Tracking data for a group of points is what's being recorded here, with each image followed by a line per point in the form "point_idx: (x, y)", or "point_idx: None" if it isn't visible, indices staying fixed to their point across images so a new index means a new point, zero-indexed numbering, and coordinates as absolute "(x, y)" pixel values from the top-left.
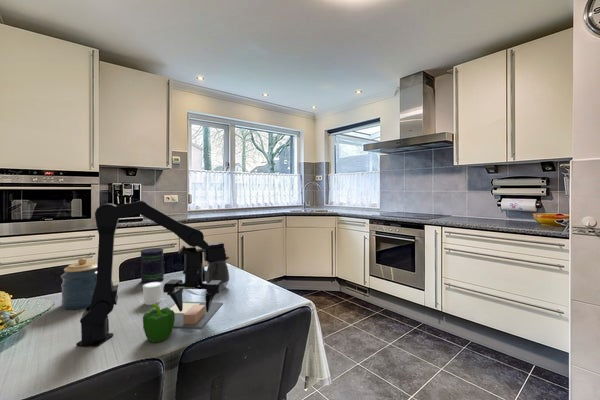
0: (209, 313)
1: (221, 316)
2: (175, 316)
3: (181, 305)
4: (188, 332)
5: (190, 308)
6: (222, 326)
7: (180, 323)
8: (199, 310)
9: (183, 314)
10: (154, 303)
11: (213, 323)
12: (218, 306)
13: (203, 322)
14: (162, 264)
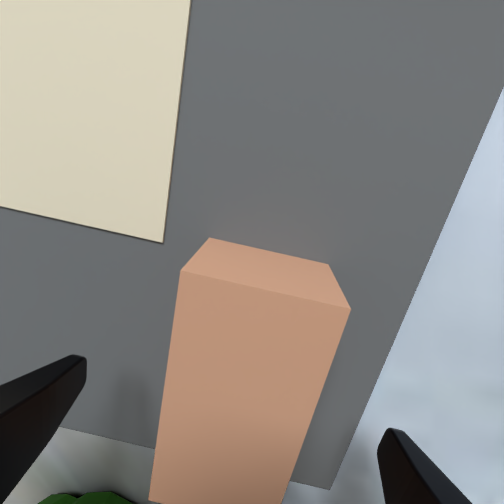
0: (375, 270)
1: (491, 324)
2: (56, 282)
3: (33, 425)
4: None
5: (172, 382)
6: (477, 481)
7: (155, 411)
8: (297, 451)
9: (149, 499)
10: None
11: (410, 430)
12: (495, 61)
13: (332, 430)
14: None
